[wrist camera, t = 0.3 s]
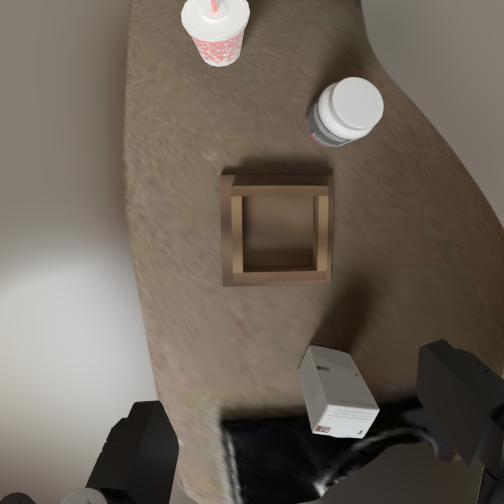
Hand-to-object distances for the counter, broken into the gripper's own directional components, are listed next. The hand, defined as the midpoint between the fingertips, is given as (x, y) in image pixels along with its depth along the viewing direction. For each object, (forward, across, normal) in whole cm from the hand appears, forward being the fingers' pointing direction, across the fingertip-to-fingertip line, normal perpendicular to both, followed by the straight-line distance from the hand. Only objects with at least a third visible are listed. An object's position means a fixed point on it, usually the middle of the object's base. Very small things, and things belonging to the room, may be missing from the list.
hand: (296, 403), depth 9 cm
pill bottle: (+28, -11, -11) cm, 32 cm away
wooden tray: (+27, -2, -1) cm, 28 cm away
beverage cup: (+28, 0, -22) cm, 36 cm away
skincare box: (+27, -5, +17) cm, 33 cm away
